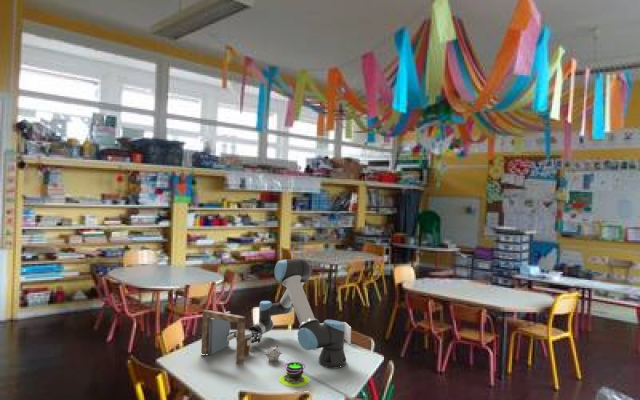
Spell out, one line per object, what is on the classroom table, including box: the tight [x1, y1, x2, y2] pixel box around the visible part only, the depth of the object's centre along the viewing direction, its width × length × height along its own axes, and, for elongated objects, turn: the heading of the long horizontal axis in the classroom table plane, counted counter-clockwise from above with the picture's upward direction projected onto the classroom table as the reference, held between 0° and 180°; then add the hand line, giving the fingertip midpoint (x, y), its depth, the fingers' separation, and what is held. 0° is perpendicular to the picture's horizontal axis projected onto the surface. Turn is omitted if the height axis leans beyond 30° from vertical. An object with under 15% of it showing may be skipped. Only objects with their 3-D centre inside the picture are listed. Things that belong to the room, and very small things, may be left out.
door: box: [207, 311, 231, 356], centre depth 265 cm, size 19×4×20 cm, turn 157°
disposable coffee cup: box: [235, 329, 252, 356], centre depth 262 cm, size 10×10×12 cm
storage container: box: [319, 321, 352, 345], centre depth 286 cm, size 25×11×11 cm, turn 107°
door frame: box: [200, 309, 246, 365], centre depth 253 cm, size 26×3×25 cm, turn 67°
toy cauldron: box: [279, 357, 310, 388], centre depth 230 cm, size 15×15×11 cm
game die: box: [265, 345, 283, 363], centre depth 253 cm, size 9×8×10 cm
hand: (237, 341), depth 260 cm, fingers open, 13 cm apart
